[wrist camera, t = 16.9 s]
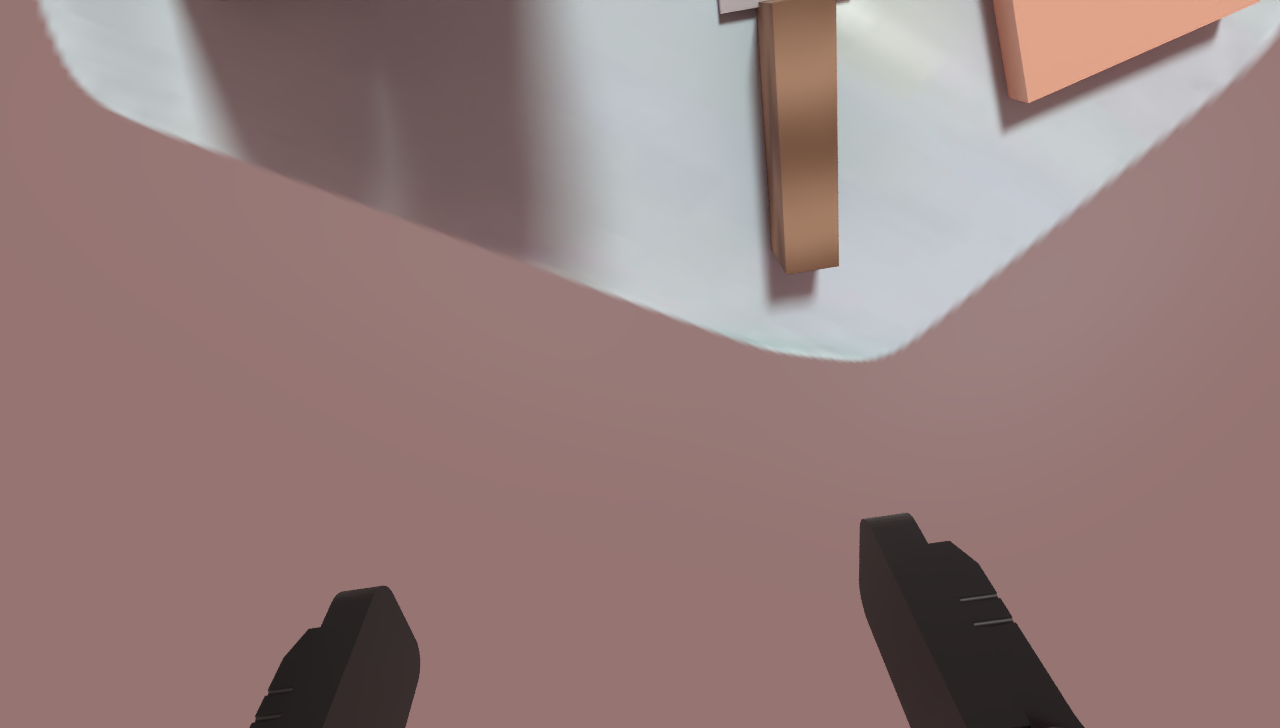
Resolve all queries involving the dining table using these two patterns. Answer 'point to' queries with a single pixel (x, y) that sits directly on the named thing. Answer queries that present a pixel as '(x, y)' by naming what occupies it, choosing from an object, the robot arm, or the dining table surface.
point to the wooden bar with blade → (799, 127)
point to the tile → (1089, 36)
